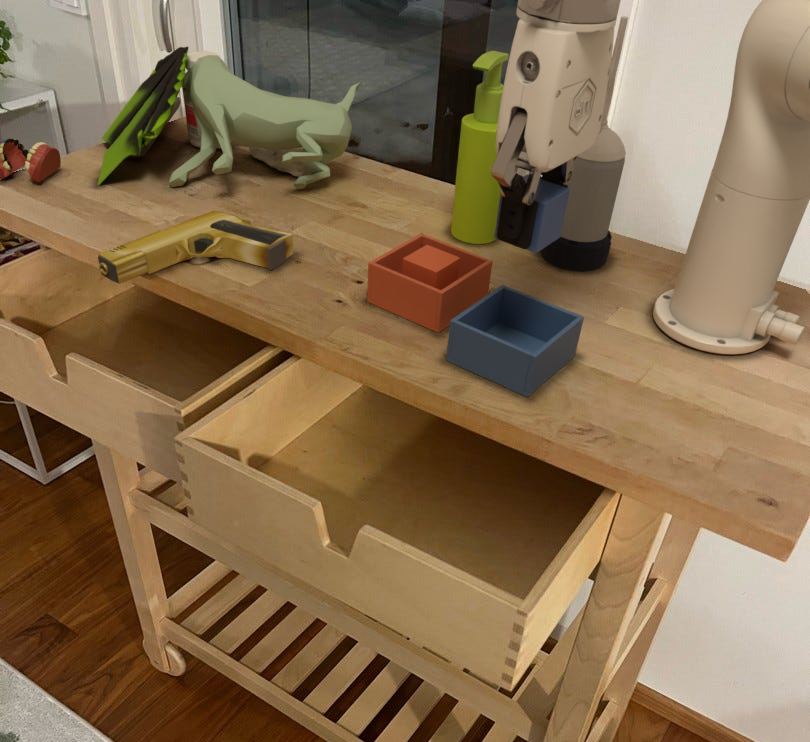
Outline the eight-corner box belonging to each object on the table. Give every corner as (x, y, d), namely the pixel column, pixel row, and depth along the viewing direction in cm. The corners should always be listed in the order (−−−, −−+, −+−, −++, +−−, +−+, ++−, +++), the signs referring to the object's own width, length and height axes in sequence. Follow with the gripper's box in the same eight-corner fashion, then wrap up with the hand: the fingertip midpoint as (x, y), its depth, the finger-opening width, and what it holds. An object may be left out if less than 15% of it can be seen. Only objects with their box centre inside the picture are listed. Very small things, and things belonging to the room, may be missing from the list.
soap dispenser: (439, 239, 101) (455, 56, 87) (462, 218, 105) (482, 41, 91) (482, 251, 99) (506, 67, 85) (505, 230, 104) (531, 52, 90)
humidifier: (607, 244, 103) (663, 12, 85) (606, 275, 97) (666, 33, 79) (542, 235, 103) (584, 3, 86) (537, 265, 98) (581, 23, 80)
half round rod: (156, 106, 126) (163, 117, 128) (121, 150, 112) (130, 162, 113) (179, 93, 125) (186, 105, 126) (147, 136, 111) (155, 148, 112)
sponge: (243, 151, 115) (254, 122, 114) (266, 163, 119) (277, 134, 118) (301, 183, 110) (313, 152, 109) (323, 194, 114) (335, 164, 113)
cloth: (165, 45, 115) (179, 59, 117) (75, 175, 116) (90, 187, 118) (214, 41, 100) (229, 57, 101) (110, 190, 101) (127, 204, 102)
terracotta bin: (487, 298, 91) (493, 260, 88) (438, 333, 86) (442, 293, 83) (418, 270, 95) (421, 232, 92) (367, 301, 90) (367, 262, 86)
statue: (373, 204, 116) (349, 70, 117) (378, 150, 103) (351, 2, 105) (180, 228, 113) (159, 91, 115) (161, 176, 100) (137, 23, 102)
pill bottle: (238, 137, 120) (231, 51, 112) (225, 152, 116) (217, 65, 108) (196, 132, 121) (187, 47, 113) (182, 147, 116) (171, 59, 108)
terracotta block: (456, 295, 91) (460, 257, 87) (433, 310, 88) (436, 272, 85) (423, 282, 92) (426, 244, 89) (400, 296, 90) (402, 258, 87)
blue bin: (575, 356, 84) (584, 316, 81) (527, 397, 79) (535, 357, 75) (496, 323, 88) (502, 284, 85) (445, 360, 82) (450, 320, 79)
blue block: (560, 237, 75) (570, 188, 72) (535, 253, 72) (545, 203, 69) (519, 222, 77) (527, 174, 74) (493, 237, 74) (500, 188, 71)
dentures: (37, 147, 102) (-21, 144, 103) (47, 183, 104) (-9, 179, 106) (61, 134, 106) (5, 132, 107) (70, 169, 109) (16, 166, 110)
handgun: (299, 236, 94) (228, 203, 99) (164, 294, 83) (92, 253, 88) (299, 257, 96) (230, 223, 101) (167, 316, 85) (97, 275, 90)
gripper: (557, 27, 55) (514, 281, 68) (663, -10, 65) (608, 218, 78) (464, 3, 58) (440, 251, 71) (579, -29, 68) (539, 194, 81)
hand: (528, 231), depth 74 cm, fingers closed on blue block, 4 cm apart
